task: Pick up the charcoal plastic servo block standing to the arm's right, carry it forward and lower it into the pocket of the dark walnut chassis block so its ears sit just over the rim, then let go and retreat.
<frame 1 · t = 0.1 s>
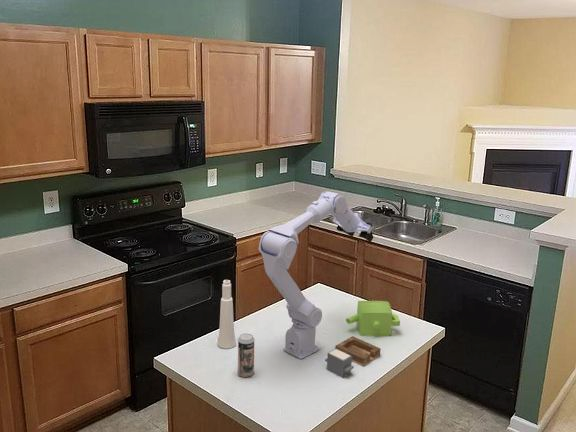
hand: (362, 236, 184), 32 cm above the counter, tool tilted 50°, fingers open, 7 cm apart
gearbox: (371, 332, 186), on the counter
cosmetic bottle: (226, 344, 174), on the counter
beer can: (245, 374, 158), on the counter
servo: (338, 371, 161), on the counter
pocket block: (357, 354, 171), on the counter
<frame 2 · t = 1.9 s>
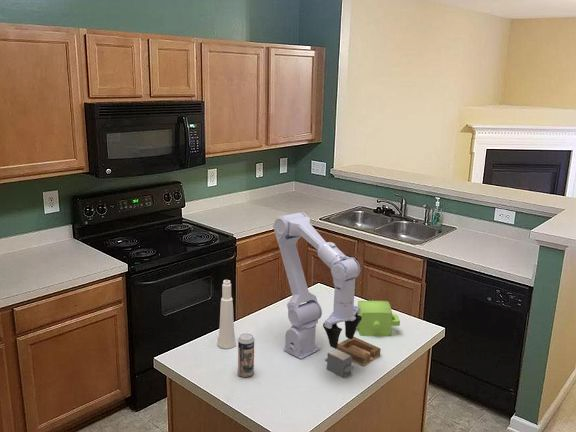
hand: (341, 342, 159), 10 cm above the counter, tool pointing down, fingers open, 7 cm apart
nothing on the counter moved.
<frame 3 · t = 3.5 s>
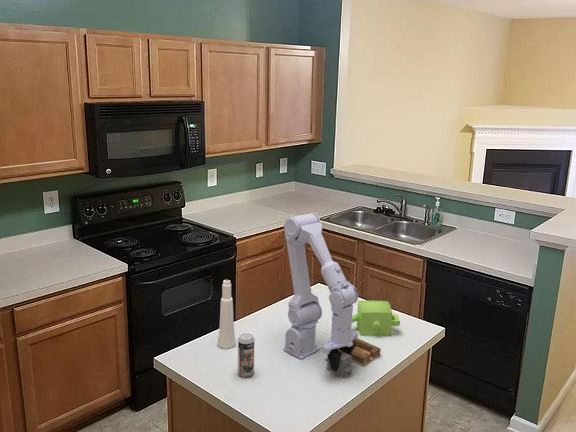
hand: (339, 366, 161), 1 cm above the counter, tool pointing down, fingers closed on servo, 4 cm apart
servo: (338, 371, 161), on the counter, touching gripper
everything else where it was.
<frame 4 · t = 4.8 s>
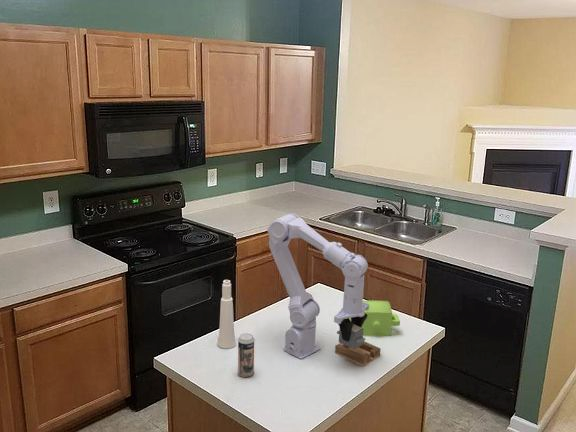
hand: (350, 337, 164), 8 cm above the counter, tool pointing down, fingers closed on servo, 4 cm apart
servo: (350, 343, 164), point 6 cm above the counter, touching gripper
everything else where it was.
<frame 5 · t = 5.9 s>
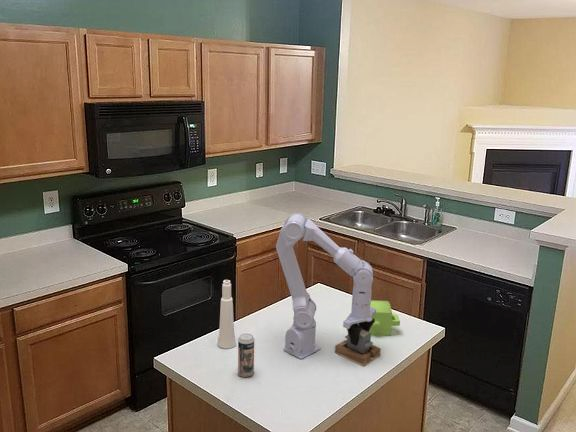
hand: (358, 341, 170), 4 cm above the counter, tool pointing down, fingers closed on servo, 4 cm apart
servo: (358, 347, 170), point 2 cm above the counter, touching gripper
everything else where it was.
when the fingers open (3 cm above the counter, at t = 6.6 s): servo stays where it is, resting on pocket block.
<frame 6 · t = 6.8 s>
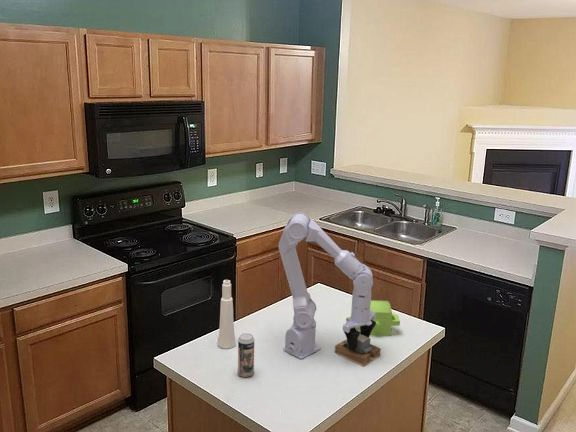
hand: (358, 345, 170), 3 cm above the counter, tool pointing down, fingers open, 6 cm apart
servo: (357, 352, 171), point 1 cm above the counter, touching pocket block
everything else where it was.
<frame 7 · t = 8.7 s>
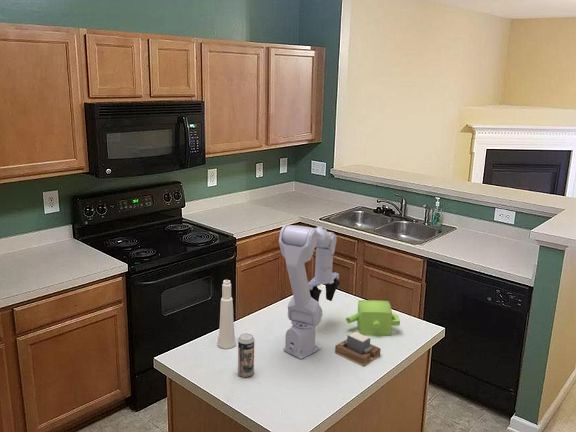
hand: (322, 303, 185), 9 cm above the counter, tool pointing down, fingers open, 7 cm apart
nothing on the counter moved.
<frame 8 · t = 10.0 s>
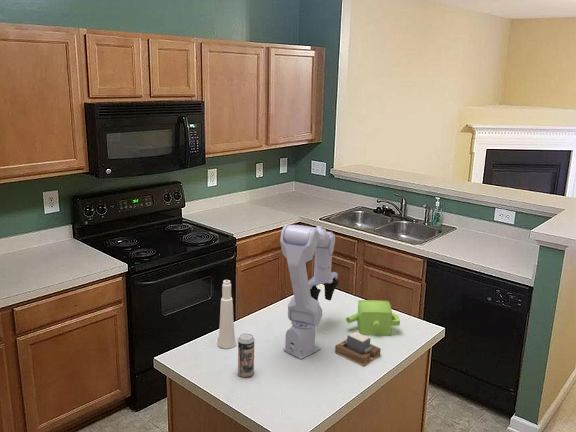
hand: (320, 302, 185), 9 cm above the counter, tool pointing down, fingers open, 7 cm apart
nothing on the counter moved.
at the end: servo 0.1 cm off-centre on the pocket block, point 0.6 cm above the pocket block's base; servo tilted 0°; the gripper is holding nothing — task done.
